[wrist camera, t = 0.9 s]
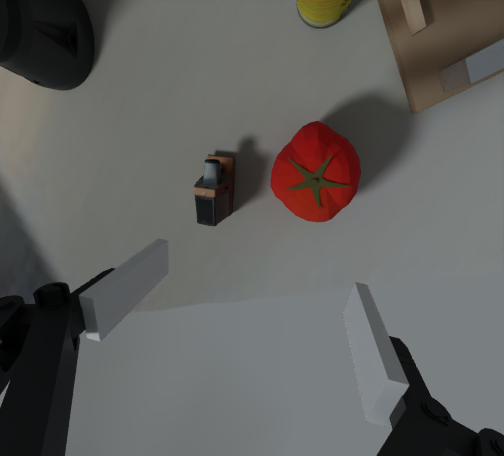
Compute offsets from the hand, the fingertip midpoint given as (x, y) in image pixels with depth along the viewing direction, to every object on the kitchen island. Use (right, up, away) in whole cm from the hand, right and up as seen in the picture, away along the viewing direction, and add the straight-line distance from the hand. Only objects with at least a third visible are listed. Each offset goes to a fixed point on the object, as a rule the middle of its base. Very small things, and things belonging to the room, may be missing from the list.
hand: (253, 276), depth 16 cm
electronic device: (-5, +11, +23) cm, 26 cm away
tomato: (+9, +12, +19) cm, 24 cm away
